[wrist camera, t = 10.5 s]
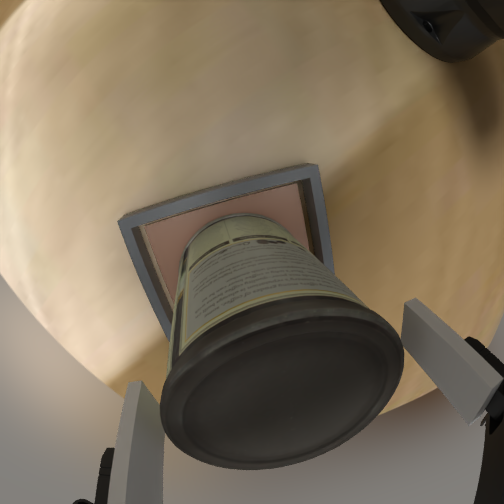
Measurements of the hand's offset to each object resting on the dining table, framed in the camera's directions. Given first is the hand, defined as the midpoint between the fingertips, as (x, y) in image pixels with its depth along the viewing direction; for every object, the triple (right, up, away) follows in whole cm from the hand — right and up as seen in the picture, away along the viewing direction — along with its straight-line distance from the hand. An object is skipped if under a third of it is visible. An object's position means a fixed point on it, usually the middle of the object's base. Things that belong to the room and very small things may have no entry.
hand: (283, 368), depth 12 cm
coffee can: (-2, +4, +11) cm, 12 cm away
